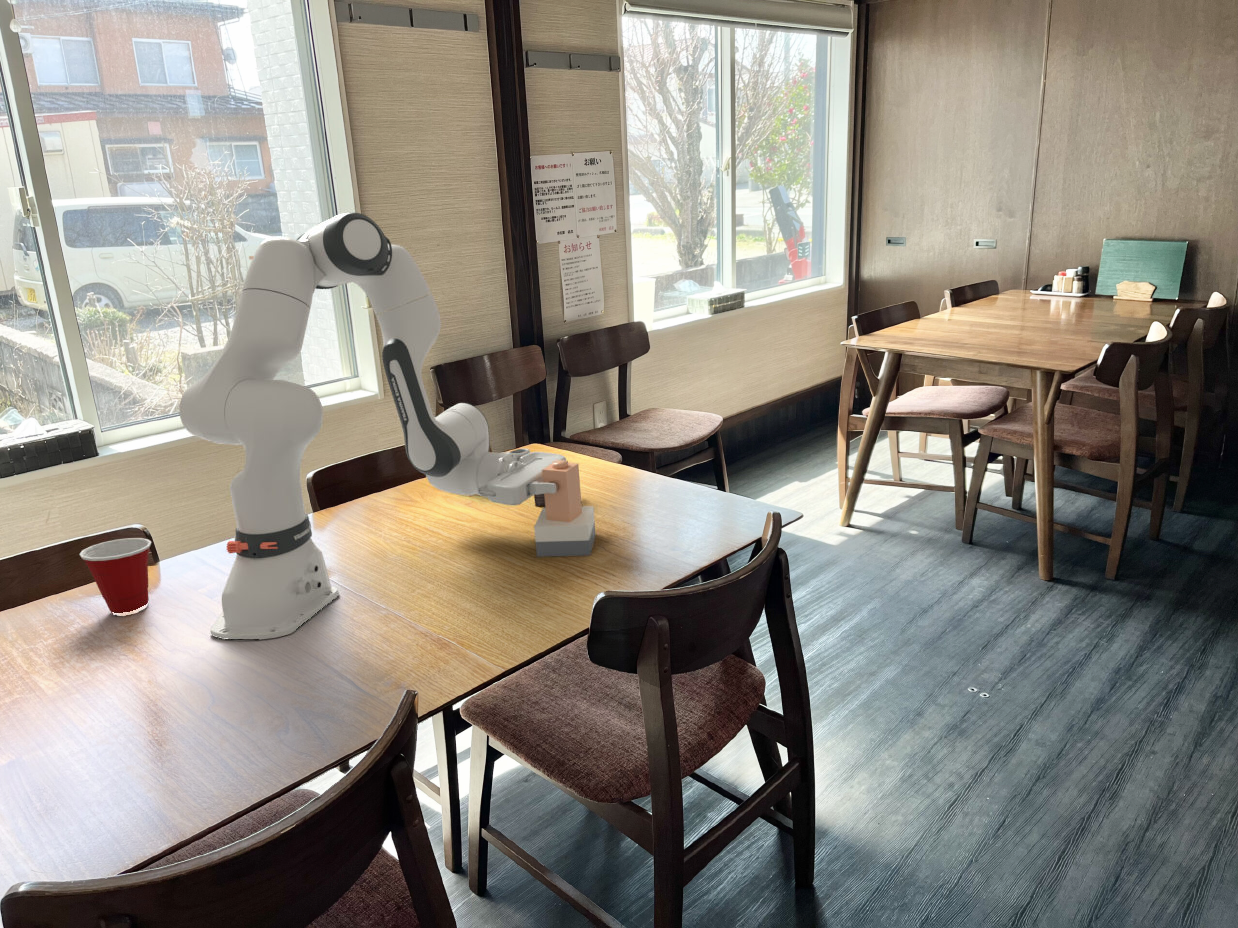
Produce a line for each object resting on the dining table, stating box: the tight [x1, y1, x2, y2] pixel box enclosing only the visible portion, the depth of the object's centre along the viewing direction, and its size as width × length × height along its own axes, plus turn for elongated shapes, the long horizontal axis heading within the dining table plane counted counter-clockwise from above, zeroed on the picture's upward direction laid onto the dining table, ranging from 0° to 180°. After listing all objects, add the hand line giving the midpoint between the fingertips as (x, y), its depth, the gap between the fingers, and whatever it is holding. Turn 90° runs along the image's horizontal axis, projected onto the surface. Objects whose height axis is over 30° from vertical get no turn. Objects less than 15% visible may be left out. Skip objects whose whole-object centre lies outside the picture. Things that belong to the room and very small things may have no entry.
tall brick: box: [542, 459, 582, 522], centre depth 168 cm, size 5×5×11 cm
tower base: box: [533, 505, 597, 558], centre depth 170 cm, size 10×10×6 cm
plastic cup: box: [79, 537, 152, 613], centre depth 154 cm, size 11×11×12 cm
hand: (565, 481), depth 167 cm, fingers open, 5 cm apart
